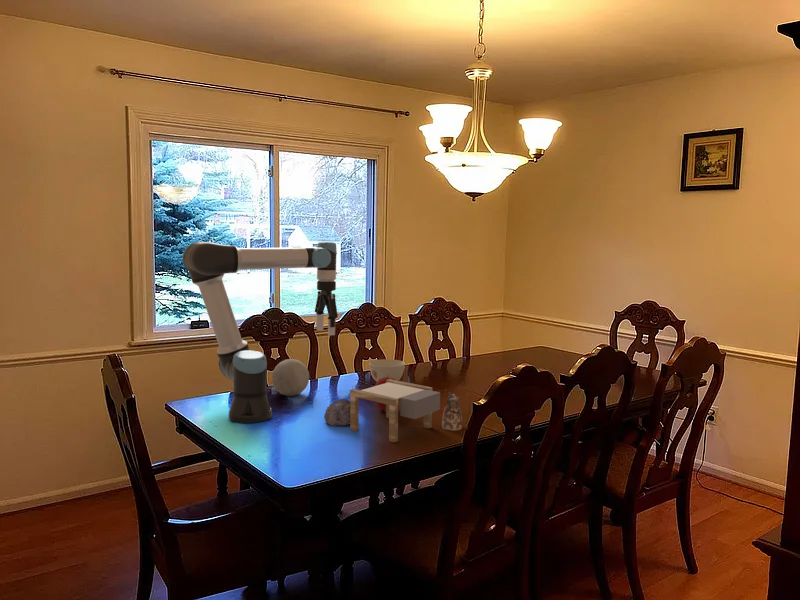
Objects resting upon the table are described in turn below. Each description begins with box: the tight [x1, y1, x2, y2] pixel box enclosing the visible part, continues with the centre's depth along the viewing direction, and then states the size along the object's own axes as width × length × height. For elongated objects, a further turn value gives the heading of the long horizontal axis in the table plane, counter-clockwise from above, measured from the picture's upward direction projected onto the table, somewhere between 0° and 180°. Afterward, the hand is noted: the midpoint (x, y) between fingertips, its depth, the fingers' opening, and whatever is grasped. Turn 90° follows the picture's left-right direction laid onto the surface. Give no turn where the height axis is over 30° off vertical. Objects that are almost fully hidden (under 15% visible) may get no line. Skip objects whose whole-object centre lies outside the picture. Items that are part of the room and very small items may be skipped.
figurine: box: [441, 391, 464, 432], centre depth 216 cm, size 7×7×12 cm
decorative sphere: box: [271, 358, 310, 397], centre depth 255 cm, size 15×15×15 cm
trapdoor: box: [361, 382, 441, 420], centre depth 210 cm, size 16×23×6 cm
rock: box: [323, 398, 350, 427], centre depth 219 cm, size 11×10×10 cm
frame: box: [349, 379, 433, 443], centre depth 213 cm, size 21×19×14 cm
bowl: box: [368, 358, 406, 382], centre depth 274 cm, size 16×16×10 cm
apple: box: [374, 375, 400, 413], centre depth 235 cm, size 10×10×14 cm
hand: (325, 332), depth 252 cm, fingers open, 13 cm apart
